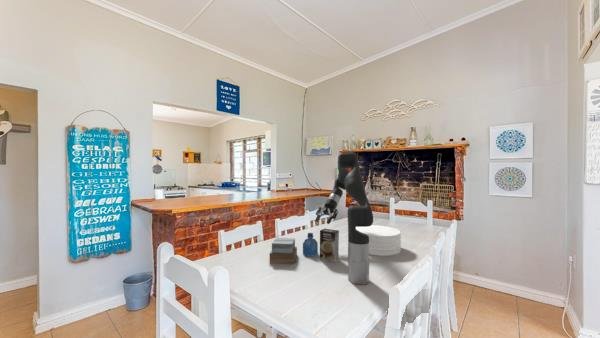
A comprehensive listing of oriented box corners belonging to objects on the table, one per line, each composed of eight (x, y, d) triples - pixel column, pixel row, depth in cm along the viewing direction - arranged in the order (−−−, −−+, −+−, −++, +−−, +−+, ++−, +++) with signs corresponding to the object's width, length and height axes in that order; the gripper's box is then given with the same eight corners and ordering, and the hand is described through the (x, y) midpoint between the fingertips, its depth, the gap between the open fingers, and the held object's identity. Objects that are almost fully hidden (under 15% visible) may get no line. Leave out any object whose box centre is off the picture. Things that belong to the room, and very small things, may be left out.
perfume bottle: (309, 251, 152) (309, 231, 152) (317, 253, 148) (317, 233, 148) (302, 254, 147) (302, 233, 147) (311, 256, 143) (311, 235, 143)
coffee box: (319, 259, 138) (319, 230, 138) (323, 256, 143) (323, 228, 143) (335, 262, 133) (335, 232, 133) (339, 259, 139) (339, 229, 139)
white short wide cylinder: (368, 239, 179) (368, 223, 179) (408, 248, 159) (408, 230, 159) (345, 248, 159) (345, 230, 159) (387, 259, 139) (387, 238, 139)
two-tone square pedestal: (293, 263, 132) (293, 244, 132) (269, 262, 133) (269, 243, 133) (296, 255, 145) (296, 238, 145) (274, 254, 146) (274, 237, 146)
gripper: (321, 197, 168) (310, 217, 159) (339, 199, 158) (329, 220, 150) (326, 204, 172) (315, 224, 163) (344, 206, 162) (334, 227, 154)
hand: (322, 222), depth 156 cm, fingers open, 8 cm apart
